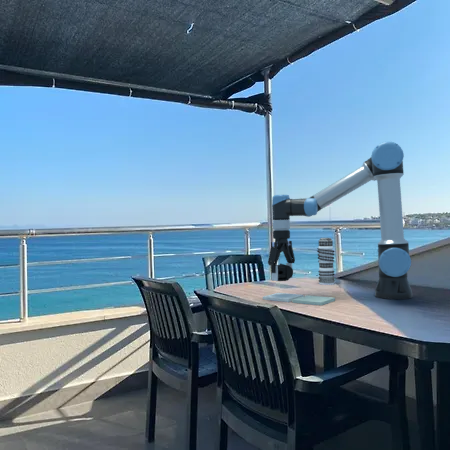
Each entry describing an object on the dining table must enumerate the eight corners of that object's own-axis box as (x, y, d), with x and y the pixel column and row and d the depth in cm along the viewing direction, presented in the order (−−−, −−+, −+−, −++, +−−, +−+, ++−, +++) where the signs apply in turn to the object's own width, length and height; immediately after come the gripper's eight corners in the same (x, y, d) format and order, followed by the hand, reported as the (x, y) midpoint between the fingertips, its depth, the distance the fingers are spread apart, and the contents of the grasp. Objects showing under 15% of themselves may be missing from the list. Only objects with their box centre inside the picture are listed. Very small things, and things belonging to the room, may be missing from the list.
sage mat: (307, 297, 186) (307, 295, 186) (335, 300, 178) (335, 297, 178) (292, 302, 176) (292, 299, 176) (321, 305, 168) (321, 302, 168)
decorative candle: (314, 283, 233) (313, 237, 233) (329, 282, 236) (328, 237, 236) (323, 285, 224) (322, 238, 224) (338, 284, 227) (337, 237, 227)
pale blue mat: (278, 295, 195) (278, 292, 195) (303, 297, 187) (303, 294, 187) (262, 299, 185) (262, 296, 185) (288, 302, 177) (288, 299, 177)
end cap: (293, 280, 182) (293, 265, 182) (277, 281, 181) (277, 265, 181) (286, 278, 192) (286, 263, 192) (271, 278, 191) (271, 263, 191)
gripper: (287, 229, 198) (288, 275, 198) (258, 230, 180) (260, 281, 180) (302, 229, 193) (303, 276, 193) (273, 230, 175) (274, 282, 175)
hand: (282, 279), depth 186 cm, fingers closed on end cap, 11 cm apart
